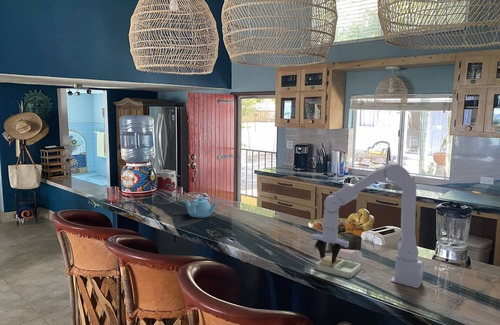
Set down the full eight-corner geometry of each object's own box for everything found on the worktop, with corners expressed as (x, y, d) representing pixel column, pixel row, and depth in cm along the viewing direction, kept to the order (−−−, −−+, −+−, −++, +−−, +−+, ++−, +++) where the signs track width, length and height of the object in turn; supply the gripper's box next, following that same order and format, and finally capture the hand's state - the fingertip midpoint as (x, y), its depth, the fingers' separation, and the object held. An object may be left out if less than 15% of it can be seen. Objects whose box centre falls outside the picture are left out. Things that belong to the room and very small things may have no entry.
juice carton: (326, 253, 171) (327, 240, 171) (313, 247, 180) (314, 234, 179) (361, 250, 180) (362, 237, 179) (347, 243, 189) (348, 231, 188)
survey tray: (360, 271, 152) (361, 264, 152) (349, 280, 142) (350, 273, 142) (327, 262, 160) (327, 255, 159) (314, 270, 150) (315, 263, 150)
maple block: (329, 271, 147) (330, 260, 147) (320, 268, 150) (321, 258, 149) (333, 268, 151) (334, 258, 150) (324, 266, 153) (325, 256, 153)
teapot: (183, 213, 232) (183, 195, 231) (207, 211, 239) (207, 194, 238) (191, 219, 219) (192, 200, 218) (216, 217, 226) (217, 199, 225)
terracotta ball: (338, 264, 155) (339, 256, 155) (335, 267, 152) (335, 258, 152) (330, 262, 157) (330, 254, 157) (326, 265, 154) (327, 256, 154)
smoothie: (342, 242, 165) (370, 250, 154) (344, 256, 167) (373, 264, 156) (332, 249, 162) (360, 257, 151) (335, 263, 163) (363, 272, 152)
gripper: (352, 228, 148) (350, 263, 149) (317, 221, 156) (315, 254, 158) (345, 232, 142) (343, 268, 144) (309, 224, 150) (307, 258, 152)
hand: (328, 261), depth 150 cm, fingers closed on maple block, 4 cm apart
